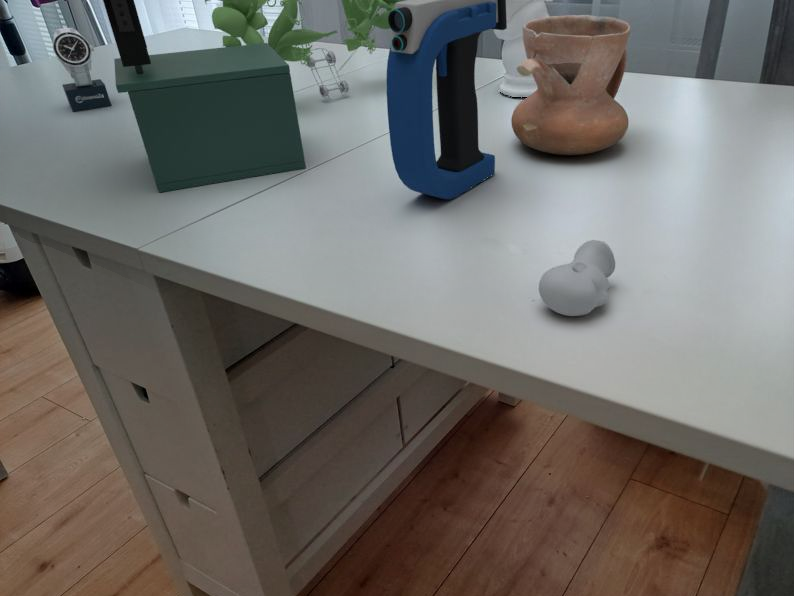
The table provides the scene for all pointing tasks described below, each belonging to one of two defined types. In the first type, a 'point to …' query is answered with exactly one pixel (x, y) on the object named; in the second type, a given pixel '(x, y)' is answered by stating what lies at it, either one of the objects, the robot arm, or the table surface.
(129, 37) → the robot arm
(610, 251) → the smooth white sculpture
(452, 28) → the handheld scanner
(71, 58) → the watch
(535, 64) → the ceramic jug
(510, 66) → the cherub figurine
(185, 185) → the dark green hollow box
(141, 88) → the lid
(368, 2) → the plant cuttings
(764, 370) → the table surface
